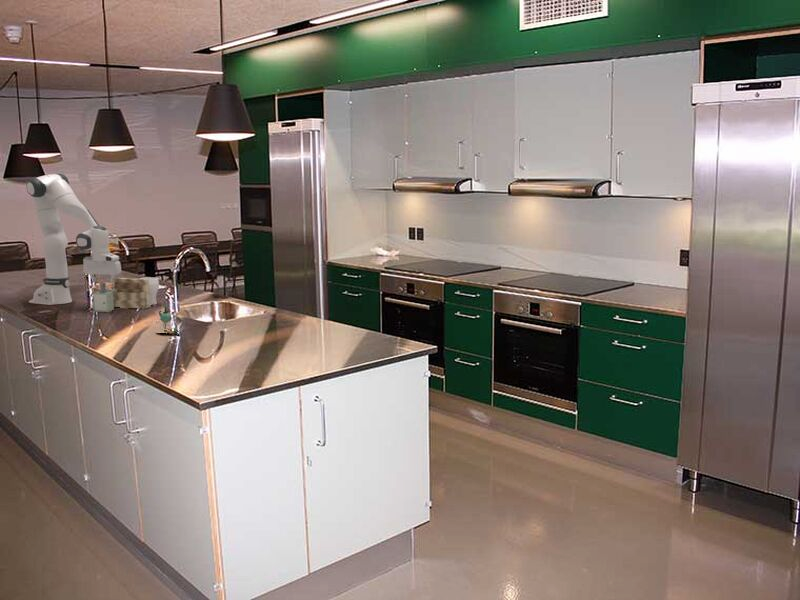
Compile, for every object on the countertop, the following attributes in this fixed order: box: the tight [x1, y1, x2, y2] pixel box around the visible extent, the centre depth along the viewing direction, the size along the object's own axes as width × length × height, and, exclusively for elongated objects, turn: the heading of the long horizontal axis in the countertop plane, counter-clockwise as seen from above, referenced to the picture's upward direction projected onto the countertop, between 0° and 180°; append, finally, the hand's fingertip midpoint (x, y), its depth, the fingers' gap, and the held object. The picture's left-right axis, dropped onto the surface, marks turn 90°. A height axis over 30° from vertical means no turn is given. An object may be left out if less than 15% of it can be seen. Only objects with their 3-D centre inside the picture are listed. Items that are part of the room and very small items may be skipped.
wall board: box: [111, 277, 152, 309], centre depth 416 cm, size 20×7×16 cm, turn 82°
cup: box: [139, 276, 160, 305], centre depth 426 cm, size 11×11×15 cm
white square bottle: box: [92, 282, 115, 313], centre depth 406 cm, size 8×9×15 cm
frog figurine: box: [155, 304, 180, 334], centre depth 356 cm, size 10×18×15 cm, turn 41°
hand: (103, 282), depth 404 cm, fingers open, 8 cm apart
